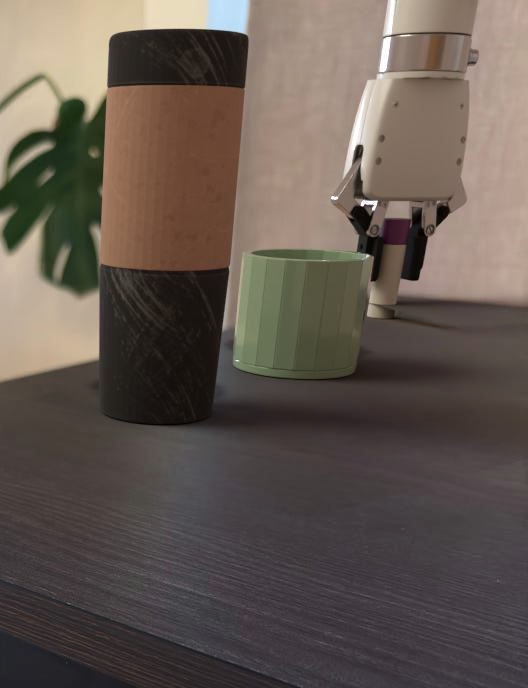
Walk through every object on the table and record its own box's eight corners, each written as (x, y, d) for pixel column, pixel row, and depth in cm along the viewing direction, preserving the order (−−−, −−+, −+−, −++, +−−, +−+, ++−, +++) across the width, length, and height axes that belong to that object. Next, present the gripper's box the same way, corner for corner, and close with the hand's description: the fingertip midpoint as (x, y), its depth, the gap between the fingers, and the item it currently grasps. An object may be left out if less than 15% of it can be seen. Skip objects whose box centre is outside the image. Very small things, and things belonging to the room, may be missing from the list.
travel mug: (241, 415, 59) (282, 35, 50) (147, 432, 55) (171, 24, 46) (161, 391, 64) (184, 46, 55) (70, 405, 61) (78, 37, 51)
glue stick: (385, 314, 96) (401, 217, 92) (399, 318, 94) (417, 219, 90) (361, 315, 96) (376, 217, 91) (375, 319, 93) (391, 219, 89)
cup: (318, 353, 77) (333, 247, 74) (379, 376, 69) (398, 259, 66) (213, 357, 75) (223, 248, 72) (263, 381, 67) (277, 261, 64)
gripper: (477, 68, 90) (438, 274, 98) (317, 62, 86) (291, 276, 94) (530, 62, 83) (484, 283, 92) (360, 56, 80) (328, 286, 88)
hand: (386, 277), depth 93 cm, fingers open, 3 cm apart
